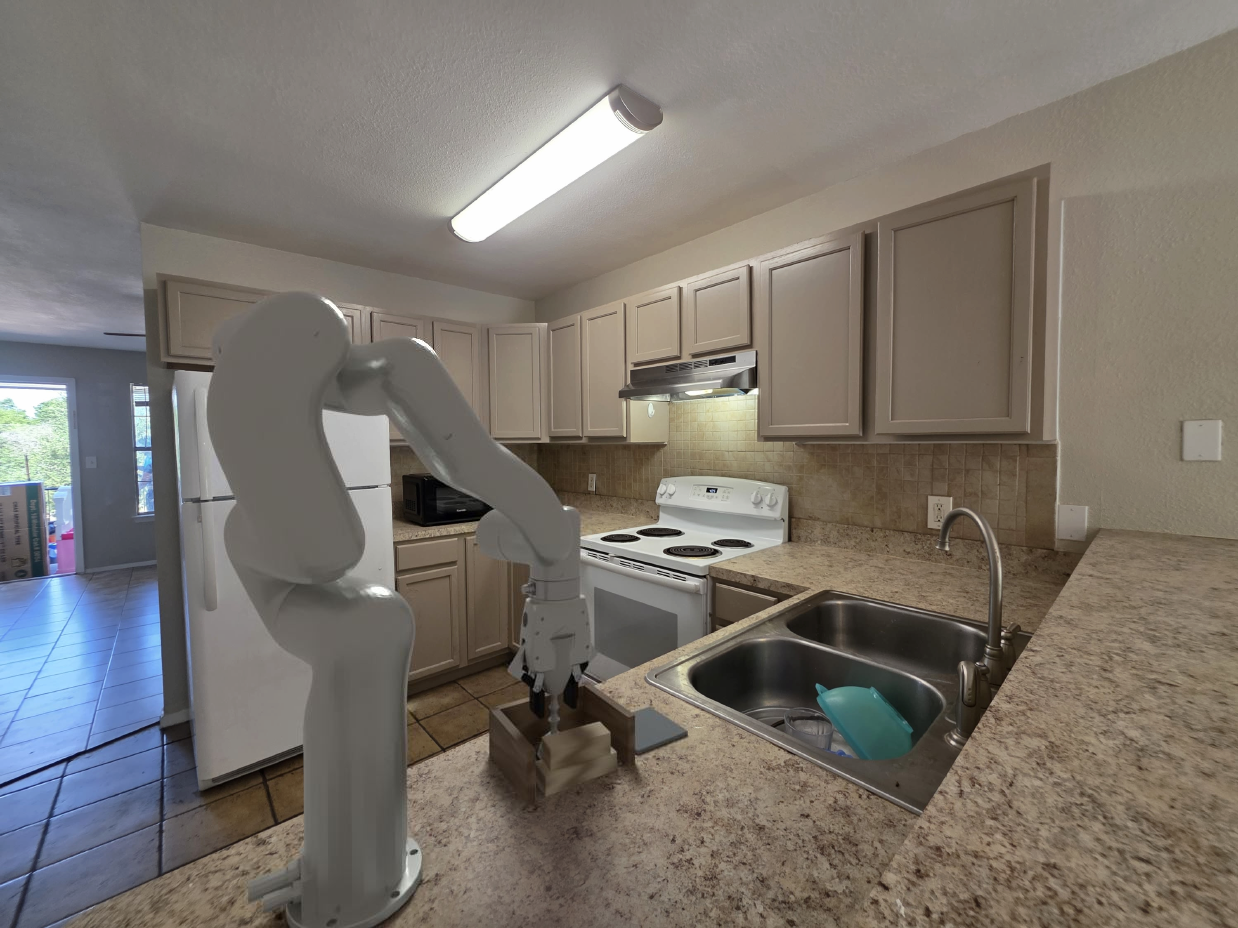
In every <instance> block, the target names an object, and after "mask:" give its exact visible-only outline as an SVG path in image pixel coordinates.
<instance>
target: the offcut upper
mask: <svg viewBox="0 0 1238 928" xmlns="http://www.w3.org/2000/svg"><path fill="white" fill-rule="evenodd" d="M608 754H611V733H610V732H609V731H608V730H607V729H606V727H605V726H604V725H603V724H602V723H601V722H596V723H592V724H588V725H585V726H581V727H577V728H573V729H570V730H566V731H562V732H558V733H554V734H551V735H547V736H543V737H542V759H543V761H544V762H545V764H546V765H547V767H548V768H549V770H550V771H551V772H552V771H555V770H558V769H562V768H565V767H568V766H572V765H575V764H578V763H582V762H585V761H588V760H592V759H595V758H598V757H602V756H605V755H608ZM542 759H541V760H542Z"/></svg>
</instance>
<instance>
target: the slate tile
mask: <svg viewBox="0 0 1238 928" xmlns="http://www.w3.org/2000/svg"><path fill="white" fill-rule="evenodd" d="M631 713H633V714H634V715H635V754H636V753H637V754H638V755H640V754H642V752H643V753H645V752H648V751H651V750H652V748H653V749H655V748H658V747H661V746H662V745H666V744H668V743H670V742H669V741H671V742H673V741H676V740H678V739H680V737H681V738H683V737H686V736H688V733H689V732H688V730H687V729H686V728H684V727H682V726H681V725H679V724H678V723H676V722H674V720H671V719H670V718H669V717H667V716H666V715H664V714H663V713H661V712H660V711H658V710H656V709H655V708H654V707H652V706H647V707H644V708H641V709H639V710H636V711H635V710H634V711H632V712H631ZM685 735H686V736H685ZM675 739H676V740H675ZM672 740H673V741H672ZM667 742H668V743H667ZM665 743H666V744H665ZM660 745H661V746H660ZM647 750H648V751H647ZM637 754H636V755H637Z"/></svg>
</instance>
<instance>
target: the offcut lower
mask: <svg viewBox="0 0 1238 928" xmlns="http://www.w3.org/2000/svg"><path fill="white" fill-rule="evenodd" d="M614 771H618V756H617V752H616V751H615V750H614V749H613V748H612V747H611V754H608V755H605V756H602V757H598V758H595V759H592V760H588V761H585V762H582V763H578V764H575V765H572V766H568V767H565V768H562V769H558V770H555V771H552V772H551V771H550V770H549V768H548V767H547V765H546V764H545V762H544V761H543V759H539V760H536V785H537V786H538V788H539V789H540V791H541V792H542V793H543V795H544V796H545V797H548V796H551V795H554V794H556V793H559V792H561V791H564V790H567V789H569V788H572V787H576V786H578V785H580V784H583V783H586V782H588V781H592V780H594V779H596V778H599V777H602V776H604V775H606V774H610V773H612V772H614ZM593 778H594V779H593ZM585 781H586V782H585ZM579 783H580V784H579Z"/></svg>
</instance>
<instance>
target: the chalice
mask: <svg viewBox="0 0 1238 928" xmlns="http://www.w3.org/2000/svg"><path fill="white" fill-rule="evenodd" d="M574 637H575V635H574V636H572V637H568V638H565V639H549V640H550V641H551V642H552V644H554V645H555V648H556V651H555V650H554V652H556V663H555V669H554V670H552V671H550V672H545V673H543V674H544V679H543V683H542V689H543V690H544V692H545V693H547V694H550V695H551V704H550V706H549V708H550V710H551V717H550V718H549V719H548V720H549V722H550V723H551V731H550V732H549V733H547V734H546V735H545V736H547V735H551V734H554V733H558V732H559V731H558V730H557V724H558V721H559V720H560V718H559V717H558V715H557V711H558V708H559V705H558V701H557V697H558V694H561V693H562V692H563V691H564V689H565V686H566V684H567V682H568V680H569V678H570V675H571V672H572V669H573V666H570V659H569V650H570V649H569V647H570V642H571V641H572V639H573V638H574ZM536 755H537V757H538V758H539V760H542V742H540V744H539V747H538V749H537V751H536Z"/></svg>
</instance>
